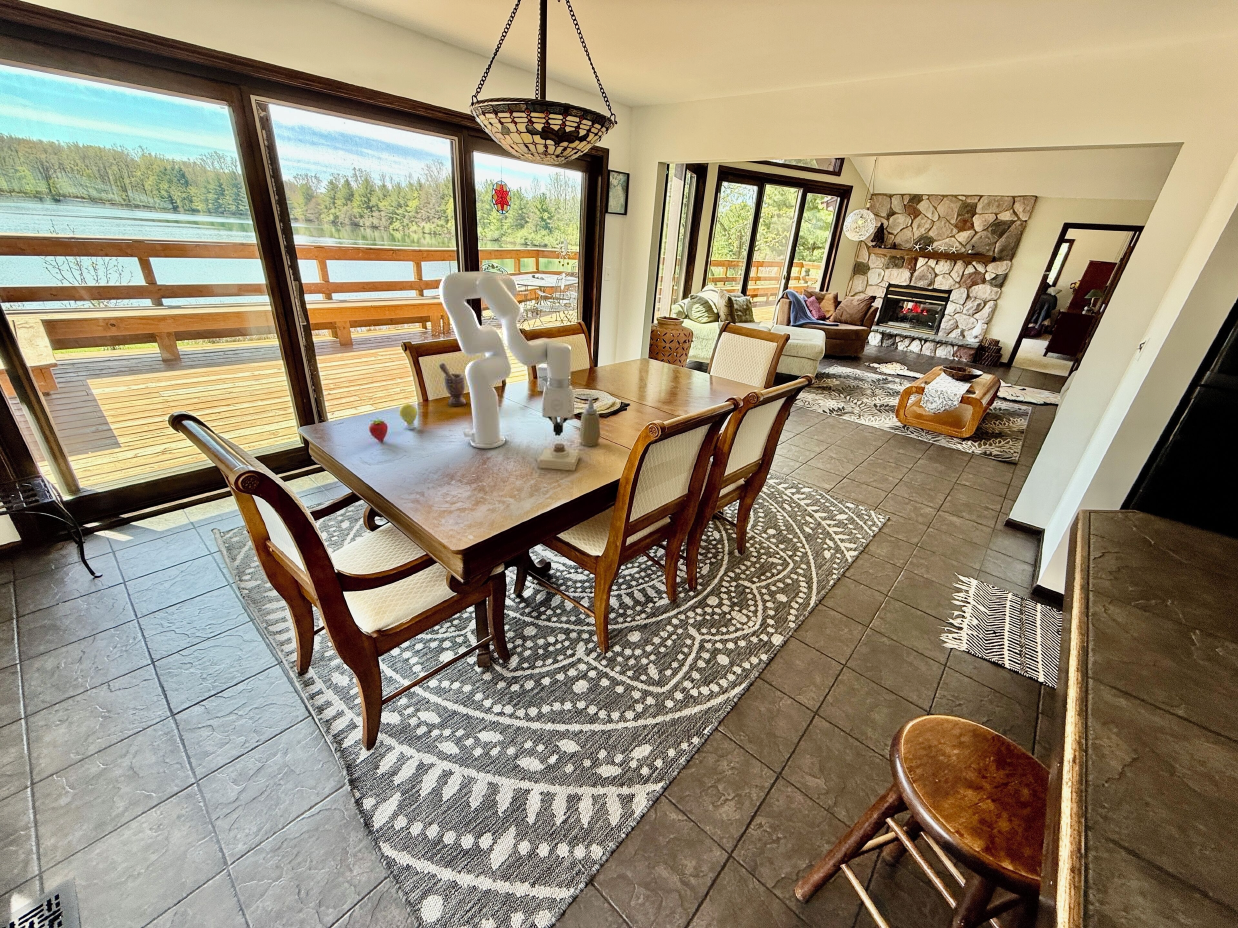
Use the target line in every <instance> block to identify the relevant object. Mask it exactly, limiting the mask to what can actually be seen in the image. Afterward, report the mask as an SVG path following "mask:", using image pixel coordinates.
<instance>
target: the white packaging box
mask: <svg viewBox="0 0 1238 928" xmlns="http://www.w3.org/2000/svg"><path fill="white" fill-rule="evenodd" d="M543 377H547V363H540V365H538V366H537V391H538V392H544V386H545V385H546V384H547V383H546V382H545V381H543Z"/></svg>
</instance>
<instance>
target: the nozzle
mask: <svg viewBox="0 0 1238 928" xmlns="http://www.w3.org/2000/svg"><path fill="white" fill-rule="evenodd" d="M553 447H554V452H564V451H565V447H566V446H565V444H564V443H555V444H554V445H553Z"/></svg>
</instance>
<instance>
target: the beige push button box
mask: <svg viewBox="0 0 1238 928" xmlns="http://www.w3.org/2000/svg"><path fill="white" fill-rule="evenodd" d="M579 459H580V450H579V449H570V448H568V447H566V446H565V451H564V452H554V446H553V447H545V448H544V449H543V452H542V454H541V455H540V457H539V459H538V464H539V468H540V469H550V470H551V469H552V470H563V471H575V469H576V467H577V464H578V462H579Z"/></svg>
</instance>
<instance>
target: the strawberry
mask: <svg viewBox="0 0 1238 928" xmlns="http://www.w3.org/2000/svg"><path fill="white" fill-rule="evenodd" d="M376 419H377V420H376ZM376 419H375V420H373V419H372V420H371V423H370V425H369V426H368V432H369V433H370V435H371V436H372V437H373V438H374V439H375V440H377V441H378V442H379V443H382V442H384V440H385V438H386V437H387V433H388V429H389V427H388V425H387V423H386V421H385V420H383V419H382V418H378V417H376Z"/></svg>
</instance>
